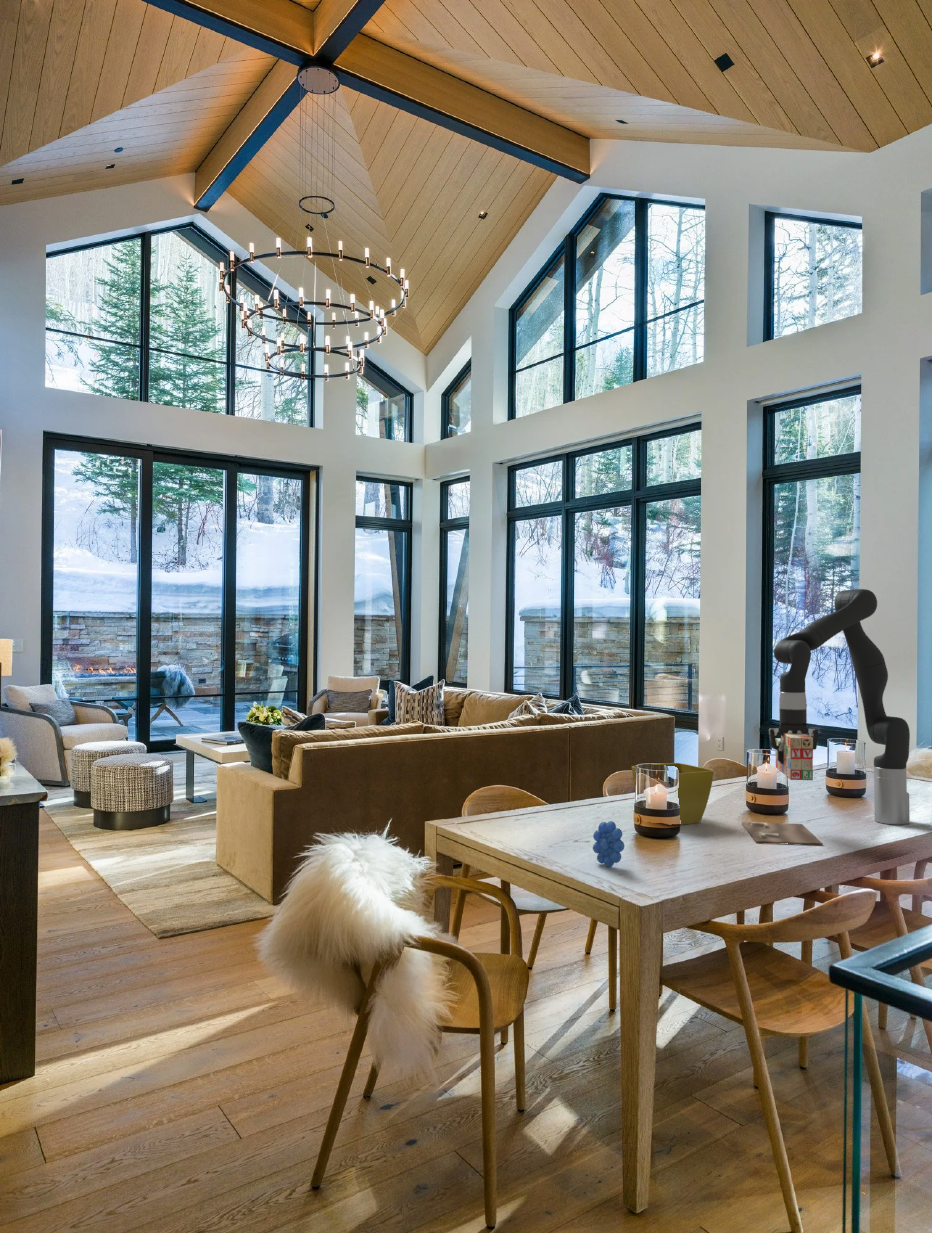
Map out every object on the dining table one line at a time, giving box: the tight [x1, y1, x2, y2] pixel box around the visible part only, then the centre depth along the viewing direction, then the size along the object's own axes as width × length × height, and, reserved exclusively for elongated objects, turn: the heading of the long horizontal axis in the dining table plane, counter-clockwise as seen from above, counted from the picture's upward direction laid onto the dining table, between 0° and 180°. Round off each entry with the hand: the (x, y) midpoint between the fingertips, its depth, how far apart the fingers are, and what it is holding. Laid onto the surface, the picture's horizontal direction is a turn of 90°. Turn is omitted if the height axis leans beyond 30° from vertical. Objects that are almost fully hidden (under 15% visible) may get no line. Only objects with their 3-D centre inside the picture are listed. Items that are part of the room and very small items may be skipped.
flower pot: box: [631, 762, 714, 825], centre depth 265 cm, size 19×19×17 cm
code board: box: [741, 821, 824, 846], centre depth 246 cm, size 18×24×1 cm
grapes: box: [592, 820, 625, 868], centre depth 213 cm, size 12×7×12 cm, turn 29°
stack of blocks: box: [774, 733, 814, 781], centre depth 246 cm, size 21×6×12 cm, turn 171°
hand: (793, 763), depth 246 cm, fingers closed on stack of blocks, 6 cm apart
